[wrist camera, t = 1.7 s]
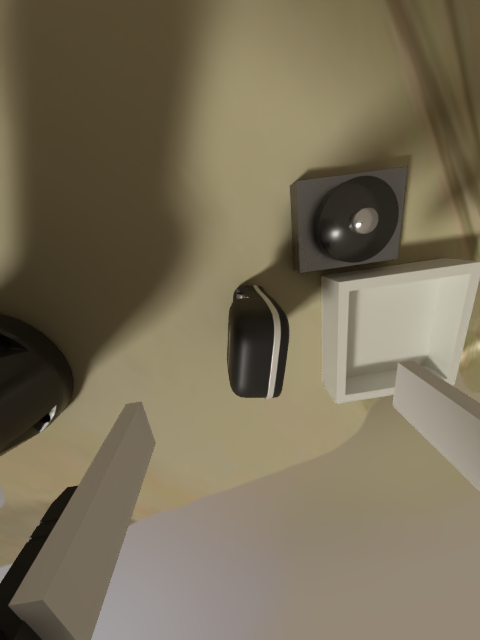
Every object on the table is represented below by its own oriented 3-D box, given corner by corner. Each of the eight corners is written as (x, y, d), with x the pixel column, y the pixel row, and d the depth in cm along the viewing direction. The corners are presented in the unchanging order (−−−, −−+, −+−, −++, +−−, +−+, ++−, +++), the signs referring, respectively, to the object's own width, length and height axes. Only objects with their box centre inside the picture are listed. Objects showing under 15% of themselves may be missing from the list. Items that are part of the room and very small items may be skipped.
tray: (321, 382, 30) (336, 403, 26) (321, 275, 25) (338, 282, 21) (425, 366, 30) (454, 384, 26) (444, 258, 25) (483, 261, 22)
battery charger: (227, 281, 24) (232, 316, 14) (262, 283, 25) (294, 317, 14) (225, 341, 27) (227, 410, 16) (257, 341, 27) (281, 410, 16)
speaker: (293, 270, 24) (309, 277, 20) (290, 185, 22) (306, 173, 18) (384, 257, 25) (417, 261, 21) (391, 172, 22) (432, 156, 18)
